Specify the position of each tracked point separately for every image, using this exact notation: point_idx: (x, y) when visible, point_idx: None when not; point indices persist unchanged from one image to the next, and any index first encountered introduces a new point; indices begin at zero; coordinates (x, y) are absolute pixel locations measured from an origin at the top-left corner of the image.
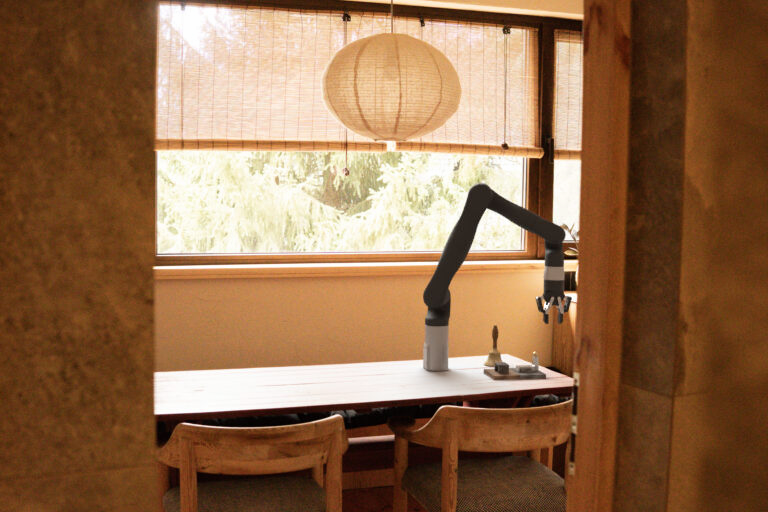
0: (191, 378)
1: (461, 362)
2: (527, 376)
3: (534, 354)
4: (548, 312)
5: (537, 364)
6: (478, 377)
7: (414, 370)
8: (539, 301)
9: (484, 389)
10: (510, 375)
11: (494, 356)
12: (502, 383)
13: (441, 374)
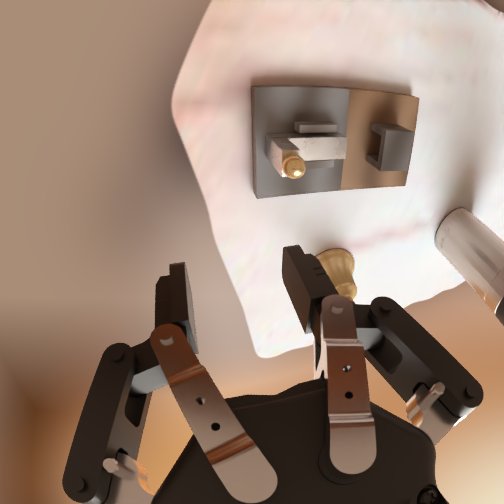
0: None
1: (383, 287)
2: (322, 87)
3: (302, 158)
4: (322, 309)
5: (277, 140)
6: (428, 135)
7: (481, 217)
8: (455, 371)
9: (456, 20)
10: (378, 92)
11: (347, 275)
12: (405, 54)
13: (469, 179)
